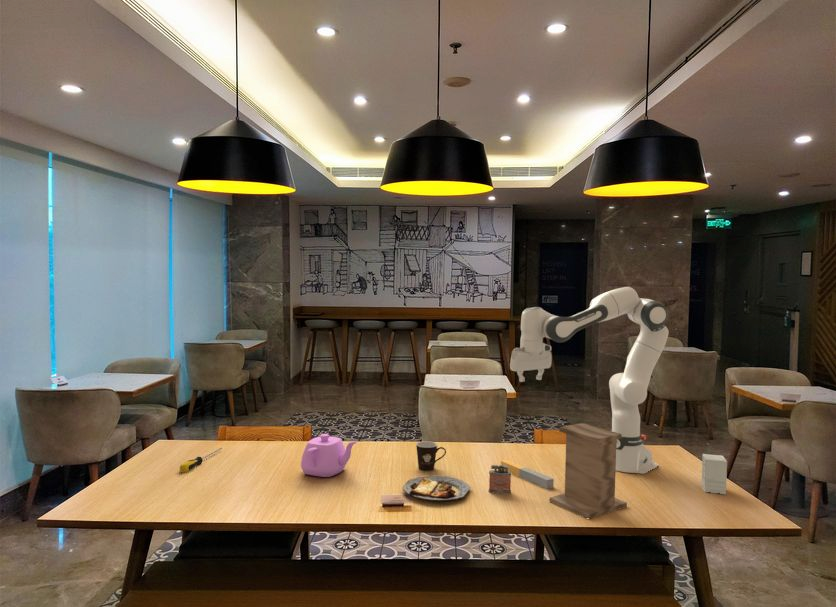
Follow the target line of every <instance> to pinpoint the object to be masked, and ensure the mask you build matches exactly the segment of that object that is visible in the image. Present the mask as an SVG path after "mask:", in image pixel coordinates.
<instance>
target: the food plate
mask: <svg viewBox="0 0 836 607" xmlns="http://www.w3.org/2000/svg"><path fill="white" fill-rule="evenodd" d="M438 485H439V486H438ZM452 487H453V488H455V489H456V490H454V489H452ZM470 489H471V485H470V484H468V483H467V482H465V481H463V480H461V479H460V478H456V477H451V476H446V475H436V474H435V475H421V476H417V477H414V478H410V479H409V480H407V481H406V482H405V483H404V484H403V485H402V491H403V492H404V493H406V494H407V495H408V496H410V497H412V498H418V499H422V500H427V501H434V502H435V501H436V502H439V501H446V502H447V501H449V502H450V501H456V500H458V499H462V498H463V497H465V495H466V494H467V493H468V492H469V491H470ZM456 492H457V493H456Z"/></svg>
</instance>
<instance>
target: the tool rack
mask: <svg viewBox="0 0 836 607" xmlns="http://www.w3.org/2000/svg"><path fill="white" fill-rule="evenodd" d="M558 431H559V432H561V433H563V434H566V436H565V438H566V439H565V466H564V467H565V469H564V471H565V473H564V493H561V494H558V495H554V496H550V497H549V501H550V502H549V503H551V502H552V504H553V503H554V505H556V506H557V507H560V508H562V507H563V508H562V509H564V508H565V510H566V509H567V510H566V511H569V512H571V513H573V512H574V513H573V514H575V513H576V515H577V514H578V516H580V515H581V516H580V517H582V516H583V517H582V518H584V517H585V518H584V519H586V518H590V519H593V518H596V517H595V516H597V517H599V516H598V515H600V516H602V515H601V514H603V515H605V513H606V514H608V512H609V513H612V512H614V510H615V511H618V510H620V509H619V508H621V509H624V508H627V506H628V503H627V501H624V500H621V499H619V498H617V497H616V474H617V472H616V471H617V470H616V440H617V439H621V438H622V434H620V433H616V432H613V431H612V430H609V429H605V428H602V427H599V426H595V425H591V424H587V423H584V422H579V423H575V424H569V425H564V426H560V427H558ZM623 507H624V508H623ZM617 509H618V510H617ZM611 511H612V512H611ZM592 517H593V518H592Z"/></svg>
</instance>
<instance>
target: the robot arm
mask: <svg viewBox="0 0 836 607" xmlns="http://www.w3.org/2000/svg"><path fill="white" fill-rule="evenodd" d="M623 315H625V317H626V319H628V320H629V321H630V322H632V323H636V324H637V325H639V326H640V332H639V334H638V336H637V338H636V340H635V341H634V343H633V345H632V347H631V349H630V351H629V353H628V354H627V357H626V363H625V367H624V371H623V372H618V373H615V374H613V375H612V376H611V377H610V379H609V382H608V388H609V395H610V406H611V414H612V415H611V416H612V417H611V431H613V432H616V433H620V434H622V438H621V439H617V440H616V471H617V472H622V473H632V474H634V473H635V474H641V475H642V474H647V473H649V472H651V471H652V469H653V470H654V469H657V468H658V467H659V463H657V462H655V461H653V453H652V451H651V450H650V449H649V448H648V447H647V446H645V445H644V444H643V441H646V439H647V435H645V434H642V433H641V414H640V411H639V406H638V405H640V404H643V403H644V402H645V400H646V399H647V396H648V387H649V384H650V380H651V378H652V374H653V370H654V368H655V366H656V365H657V363H658V360H659V359H660V357H661V355H662V352H663V351H664V350H665V346H666V344H667V340H668V337H669V334H670V331H669V329H668V327H667V321H668V317H669V316H668V315H669V313H668V309H667V307H666V306H665V304H663V303H661V302H660V301H658V300H653V299H650V298H642V297H640V296H639V295H638V293H637V291H636V289H634V288H632V287H631V286H623V287H619V288H618V287H617V288H614V289H611V290H609V291H606V292H604V293H601V294H598V295H597V296H595V297H594V298H592V299H591V301H590V303H589V307H588V308H587V309H585V310H583V311H580V312H577V313H576V314H573V315H570V316H559V315H555V314H551V313H550V312H548V311H546V310H544V309H543V308H542V307H540V306H534V307H527V308H525V309H524V310H523V311H522V313H521V318H520V319H521V320H520V331H521V335H520V341H519V342H520V343H519V344H520V346H519V347H515V348H514V349H513V350H512V351H511V357H510V361H509V362H510V363H509V368H510V369H509V370H510V371H513V372H516V373H517V376H518V379H519V380H518V381H519V382H520V383H523V382H525V381H526V380H525V379H526V377H525V376H524V375H523V374H524V372H525V371H534V370H537V371H538V372H537V375H535V379H536V380H538V381H541V380H542V379H543V375H544V373H545V369H550V368H551V367H552V356H553V355H552V352H551V351H552V346H551V345H550V344H547V343H545V342H543V341H544V338H546V339H550V340H552V341H553V342H555V343H565V342H568V340H570V339H571V338H572V337H573V336H574V335H575V334H576V333H578V332H579V331H582V330H583V329H586V328H589V327H590V326H593V325H595V324H597V323H602V322H606V321H610V320H612V319H616V318H618V317H620V316H623ZM657 466H658V467H657ZM650 470H651V471H650ZM648 471H649V472H648Z"/></svg>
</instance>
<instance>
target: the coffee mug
mask: <svg viewBox="0 0 836 607" xmlns="http://www.w3.org/2000/svg"><path fill="white" fill-rule="evenodd" d="M415 447H416V454H417V456H416V457H417V467H418V470H419V471H422V472H423V471H424V472H430V471H434V470H435V465H436V463H437V462H438V461H440V460H441V459H443V458H444V456H446V454H447V450H446V448H444V447H441V446H440V447H438V443H436V442H433V441H429V440H428V441H419V442H417V443H416V444H415ZM441 449H442V450H443V451H444V453H443V454H442V456H440V457H438V458H437V459H436V456H437V452H438V451H439V450H441Z"/></svg>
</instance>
